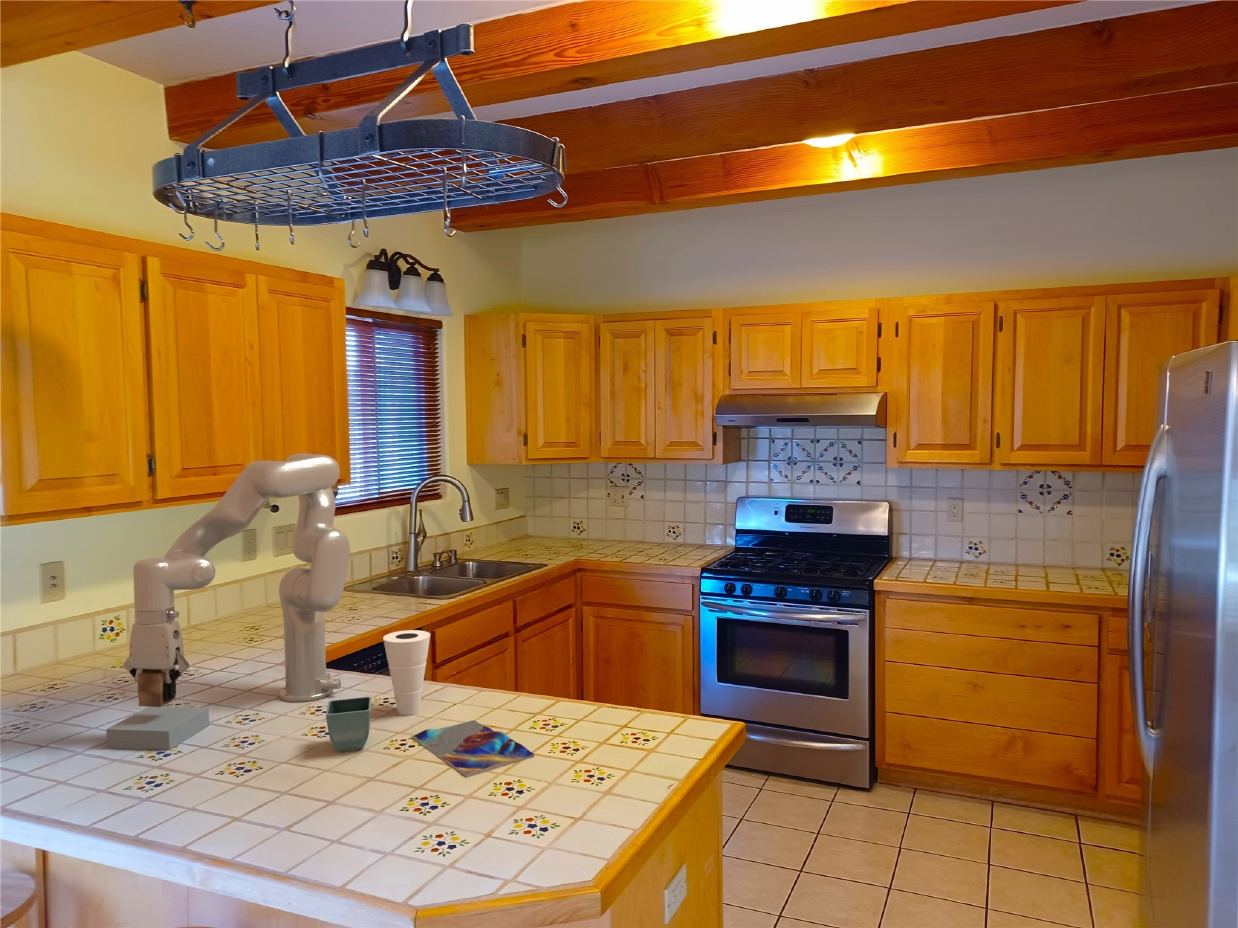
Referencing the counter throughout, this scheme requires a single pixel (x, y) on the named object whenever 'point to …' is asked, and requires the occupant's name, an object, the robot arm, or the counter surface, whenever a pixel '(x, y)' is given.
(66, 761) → the counter surface
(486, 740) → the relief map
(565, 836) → the counter surface
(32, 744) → the counter surface
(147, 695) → the walnut block
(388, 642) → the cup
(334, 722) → the flower pot
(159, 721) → the pedestal
